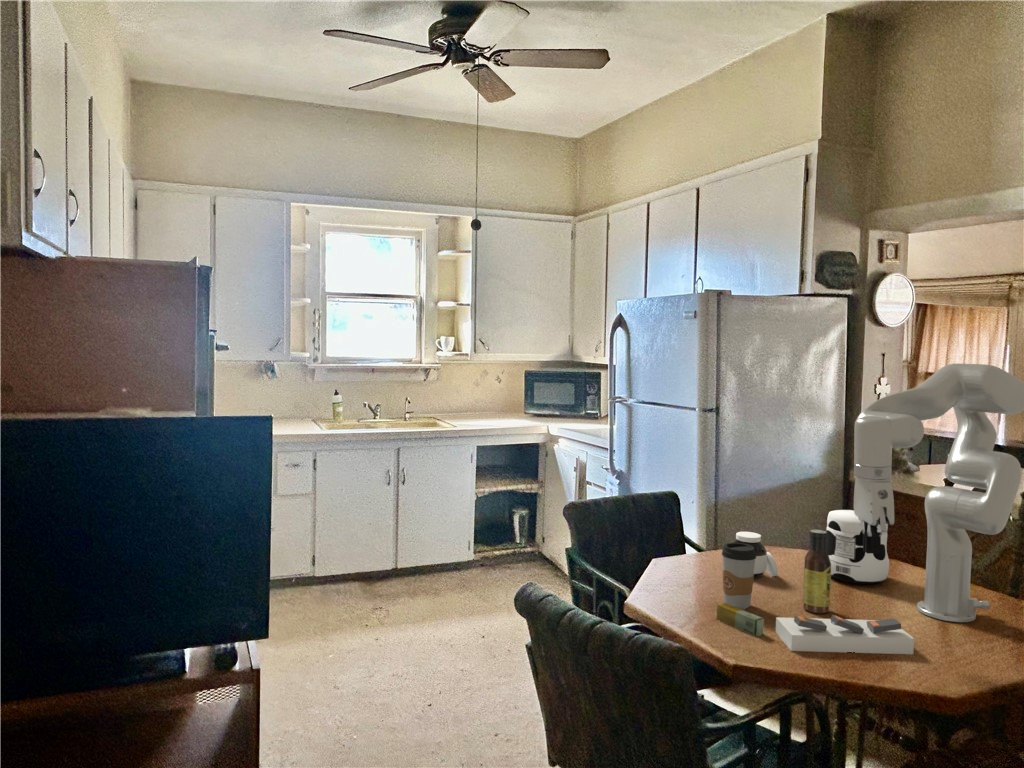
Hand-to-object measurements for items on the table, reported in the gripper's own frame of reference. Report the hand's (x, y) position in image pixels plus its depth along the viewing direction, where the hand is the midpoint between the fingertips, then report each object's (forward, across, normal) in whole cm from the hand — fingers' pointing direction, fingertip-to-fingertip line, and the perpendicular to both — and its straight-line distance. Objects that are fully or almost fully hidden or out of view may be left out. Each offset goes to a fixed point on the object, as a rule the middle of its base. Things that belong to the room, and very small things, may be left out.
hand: (871, 552), depth 163 cm
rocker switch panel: (+19, -4, +8) cm, 21 cm away
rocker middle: (+14, -6, +8) cm, 17 cm away
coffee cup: (+19, +18, +25) cm, 36 cm away
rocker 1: (+14, -6, +16) cm, 22 cm away
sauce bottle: (+20, +16, +6) cm, 26 cm away
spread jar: (+21, +43, +13) cm, 49 cm away
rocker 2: (+14, -6, 0) cm, 16 cm away
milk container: (+22, +42, -15) cm, 49 cm away
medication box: (+19, +4, +29) cm, 34 cm away
